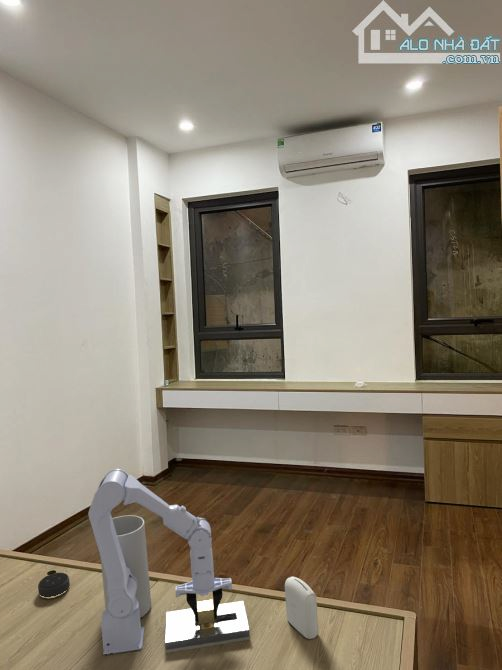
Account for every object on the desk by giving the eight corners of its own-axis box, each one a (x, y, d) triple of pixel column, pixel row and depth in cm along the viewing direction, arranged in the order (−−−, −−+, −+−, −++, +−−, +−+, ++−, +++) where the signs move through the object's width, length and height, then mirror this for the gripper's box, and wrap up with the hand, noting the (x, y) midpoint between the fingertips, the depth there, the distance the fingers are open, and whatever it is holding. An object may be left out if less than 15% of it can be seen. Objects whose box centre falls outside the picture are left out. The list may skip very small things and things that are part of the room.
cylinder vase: (97, 622, 134) (89, 535, 132) (120, 595, 146) (112, 514, 144) (139, 627, 131) (131, 537, 129) (158, 598, 143) (151, 516, 141)
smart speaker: (40, 587, 153) (39, 575, 153) (70, 580, 156) (69, 568, 156) (37, 603, 145) (36, 591, 145) (69, 596, 148) (68, 584, 147)
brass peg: (199, 633, 126) (197, 611, 125) (199, 623, 130) (197, 601, 129) (215, 630, 126) (213, 609, 126) (214, 620, 130) (212, 599, 130)
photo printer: (284, 619, 130) (281, 575, 129) (297, 613, 133) (295, 570, 132) (307, 642, 122) (304, 595, 121) (321, 635, 124) (318, 588, 123)
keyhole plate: (165, 653, 121) (165, 642, 121) (167, 621, 133) (166, 612, 133) (249, 639, 124) (249, 629, 124) (244, 609, 136) (243, 600, 135)
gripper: (173, 580, 122) (178, 632, 123) (231, 572, 124) (235, 623, 125) (174, 565, 129) (178, 614, 130) (229, 558, 131) (232, 606, 132)
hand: (206, 617), depth 128 cm, fingers closed on brass peg, 4 cm apart
